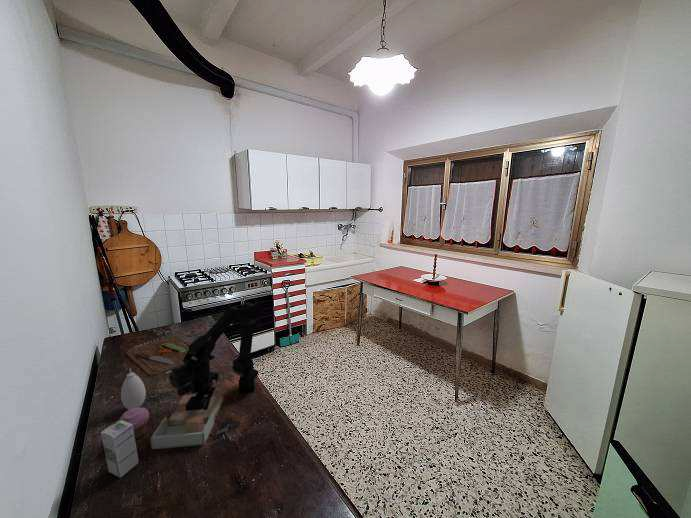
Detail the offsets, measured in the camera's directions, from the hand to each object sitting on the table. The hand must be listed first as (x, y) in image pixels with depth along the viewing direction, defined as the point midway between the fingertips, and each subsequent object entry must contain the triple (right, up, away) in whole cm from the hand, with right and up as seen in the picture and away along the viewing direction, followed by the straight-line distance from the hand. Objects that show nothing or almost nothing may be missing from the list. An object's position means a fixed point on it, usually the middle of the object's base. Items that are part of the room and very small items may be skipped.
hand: (205, 409), depth 106 cm
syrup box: (-15, -7, -21) cm, 27 cm away
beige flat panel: (-4, -3, +2) cm, 6 cm away
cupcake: (-21, -5, -9) cm, 23 cm away
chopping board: (-48, +4, +48) cm, 68 cm away
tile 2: (0, -1, -6) cm, 6 cm away
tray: (-3, -5, -9) cm, 10 cm away
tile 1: (-9, 0, +3) cm, 9 cm away
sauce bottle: (-31, -2, +5) cm, 32 cm away
